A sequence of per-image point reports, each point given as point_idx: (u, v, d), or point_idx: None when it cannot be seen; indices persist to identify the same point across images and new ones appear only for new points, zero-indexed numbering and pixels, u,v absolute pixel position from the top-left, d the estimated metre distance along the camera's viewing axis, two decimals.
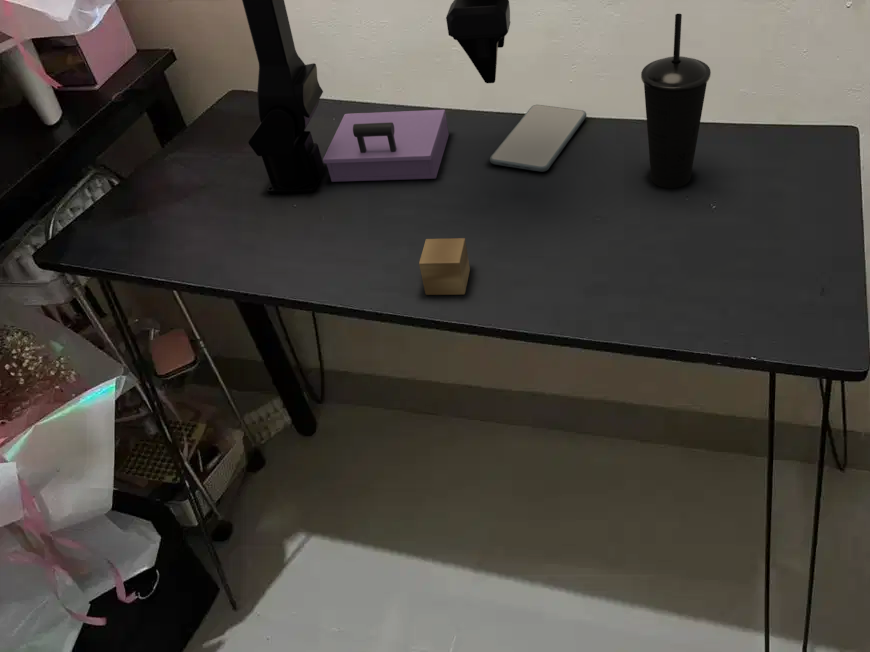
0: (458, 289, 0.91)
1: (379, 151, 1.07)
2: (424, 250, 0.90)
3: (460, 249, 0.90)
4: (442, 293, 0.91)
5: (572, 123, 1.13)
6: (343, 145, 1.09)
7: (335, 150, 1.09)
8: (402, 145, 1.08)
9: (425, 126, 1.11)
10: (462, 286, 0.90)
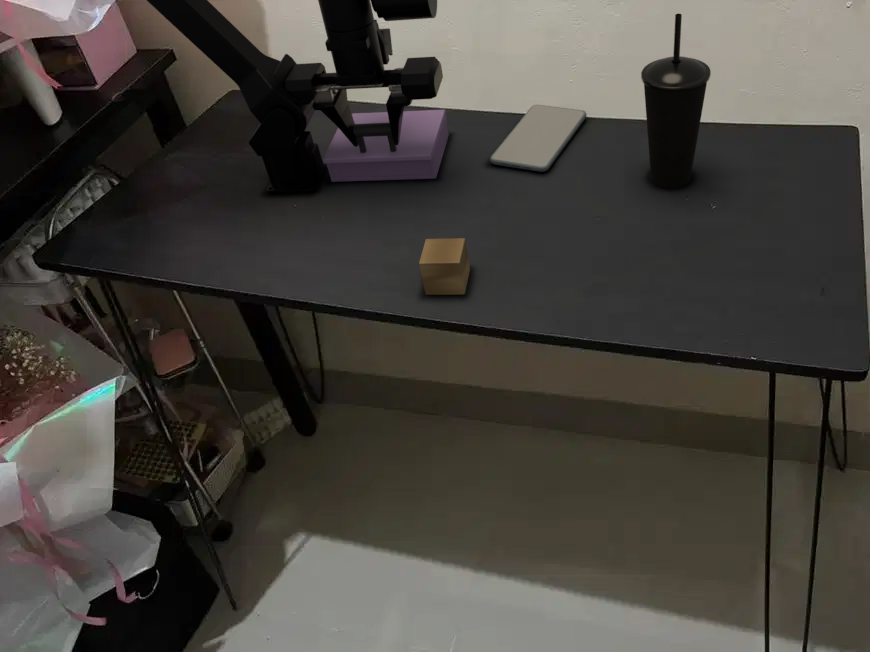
0: (458, 289, 0.91)
1: (379, 151, 1.07)
2: (424, 250, 0.90)
3: (460, 249, 0.90)
4: (442, 293, 0.91)
5: (572, 123, 1.13)
6: (343, 145, 1.09)
7: (335, 150, 1.09)
8: (402, 145, 1.08)
9: (425, 126, 1.11)
10: (462, 286, 0.90)
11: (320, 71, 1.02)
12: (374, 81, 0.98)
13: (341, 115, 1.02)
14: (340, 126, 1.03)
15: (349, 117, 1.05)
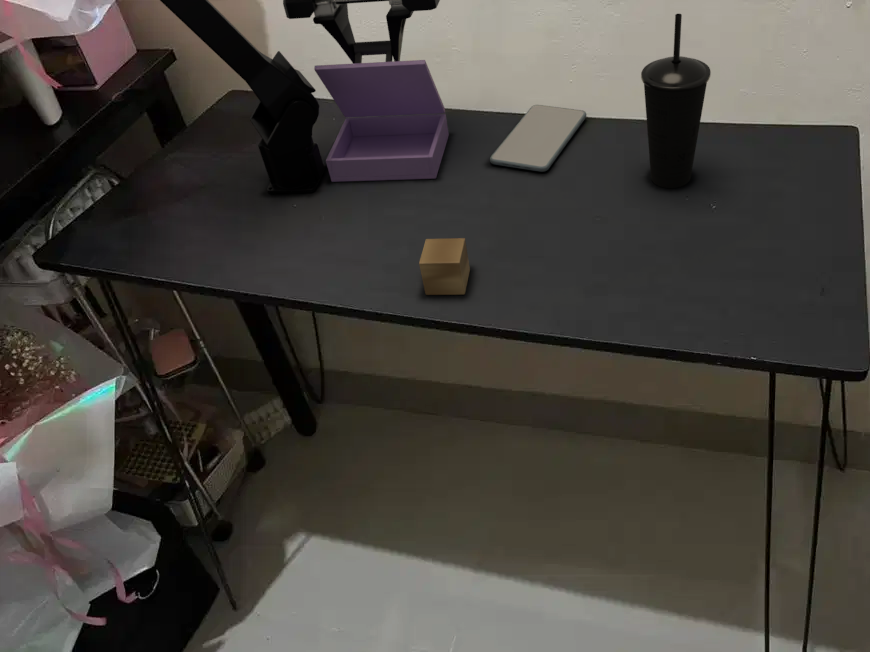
0: (458, 289, 0.91)
1: None
2: (424, 250, 0.90)
3: (460, 249, 0.90)
4: (442, 293, 0.91)
5: (572, 123, 1.13)
6: None
7: None
8: None
9: None
10: (462, 286, 0.90)
11: None
12: None
13: (342, 30, 1.02)
14: (341, 42, 1.04)
15: (350, 34, 1.05)
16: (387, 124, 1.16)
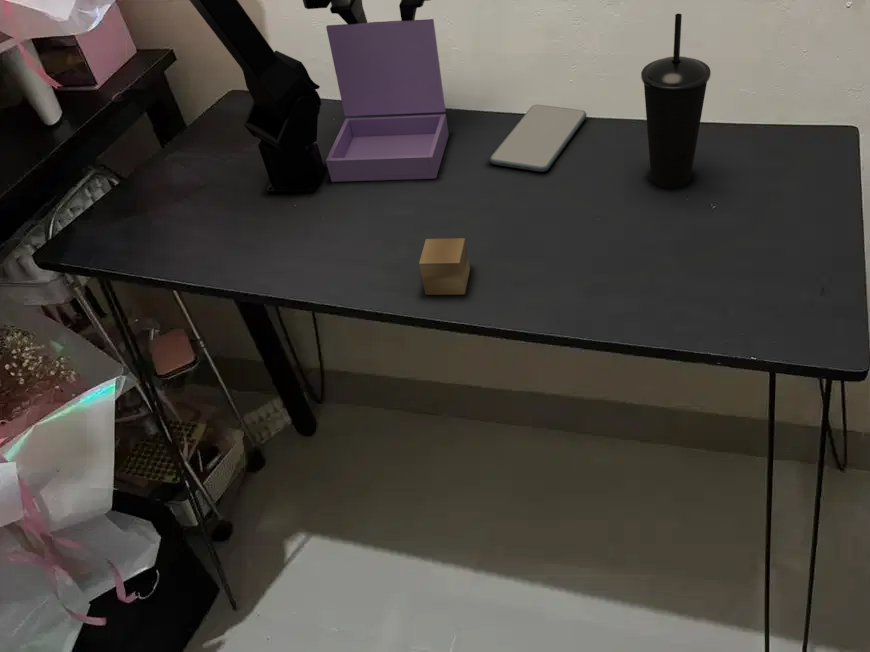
0: (458, 289, 0.91)
1: None
2: (424, 250, 0.90)
3: (460, 249, 0.90)
4: (442, 293, 0.91)
5: (572, 123, 1.13)
6: None
7: None
8: None
9: None
10: (462, 286, 0.90)
11: None
12: None
13: (357, 19, 1.08)
14: None
15: (364, 22, 1.10)
16: (387, 124, 1.16)
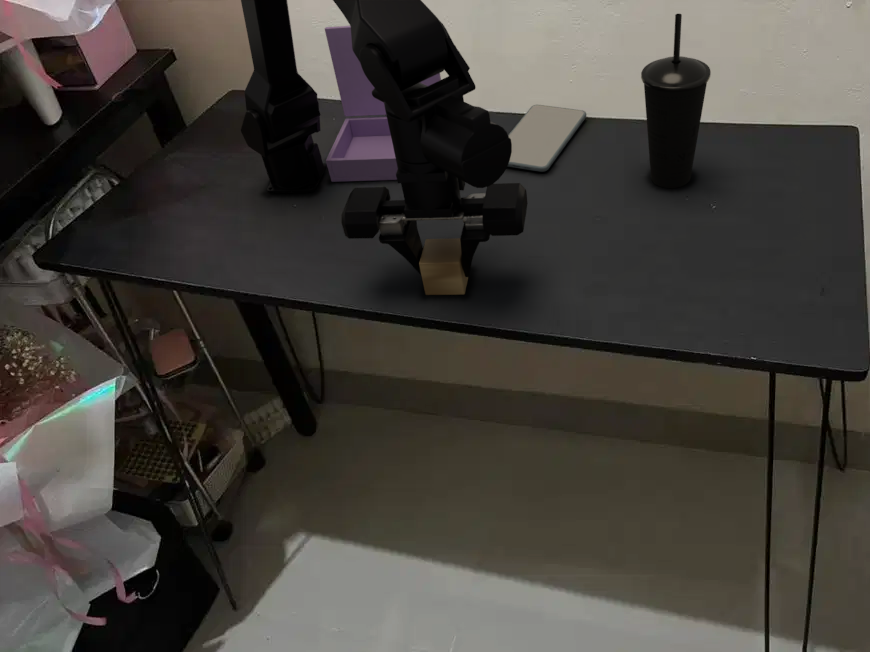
0: (458, 289, 0.91)
1: None
2: (424, 250, 0.90)
3: (460, 249, 0.90)
4: (441, 293, 0.91)
5: (572, 123, 1.13)
6: None
7: None
8: None
9: None
10: (462, 286, 0.90)
11: (384, 197, 0.87)
12: (451, 215, 0.83)
13: (411, 248, 0.88)
14: (409, 259, 0.89)
15: (419, 246, 0.90)
16: (387, 124, 1.16)
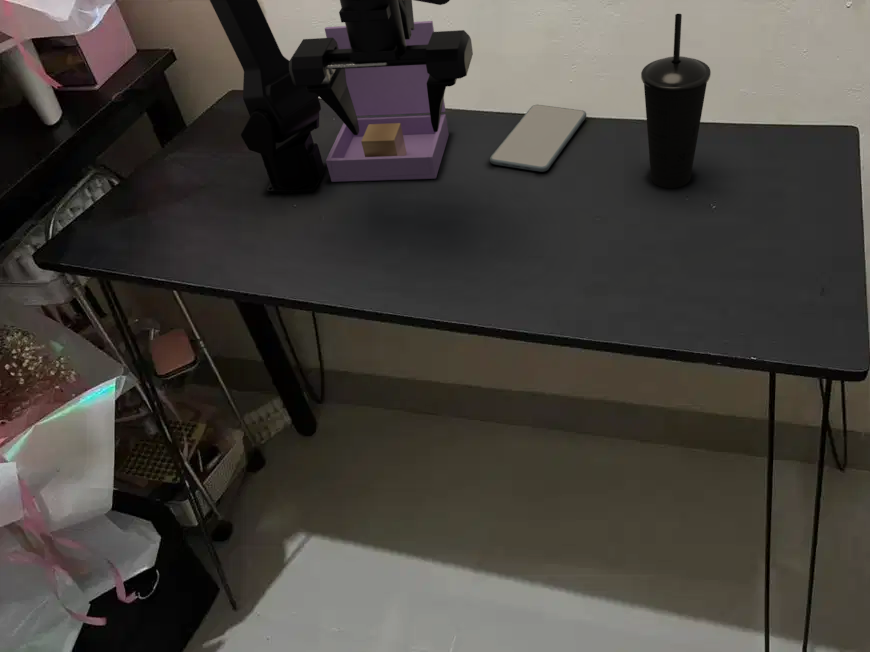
0: None
1: None
2: (366, 132, 1.09)
3: (396, 131, 1.08)
4: None
5: (572, 123, 1.13)
6: None
7: None
8: None
9: None
10: None
11: (332, 48, 0.89)
12: (395, 58, 0.85)
13: (339, 98, 0.90)
14: (338, 111, 0.91)
15: (348, 101, 0.92)
16: None
